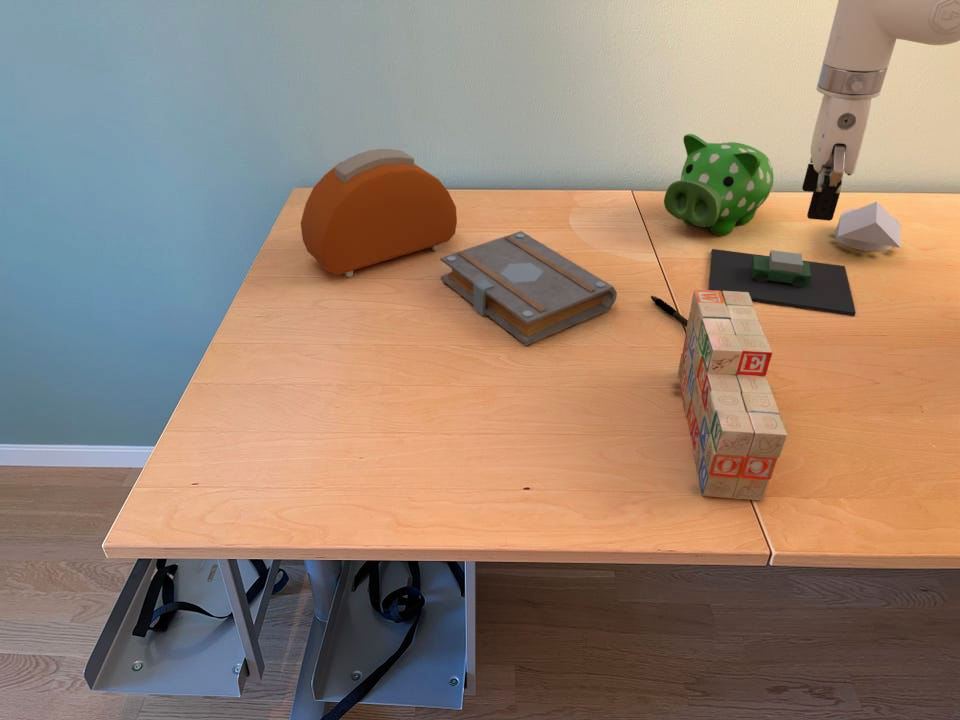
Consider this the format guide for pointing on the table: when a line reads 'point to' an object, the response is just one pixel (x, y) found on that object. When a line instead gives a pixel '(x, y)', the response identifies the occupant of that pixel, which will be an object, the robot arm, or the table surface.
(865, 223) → the wedge on round base
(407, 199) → the orange toaster
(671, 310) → the pen
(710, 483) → the stack of blocks
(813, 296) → the mat
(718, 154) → the piggy bank
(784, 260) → the toy car
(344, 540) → the table surface
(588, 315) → the book
